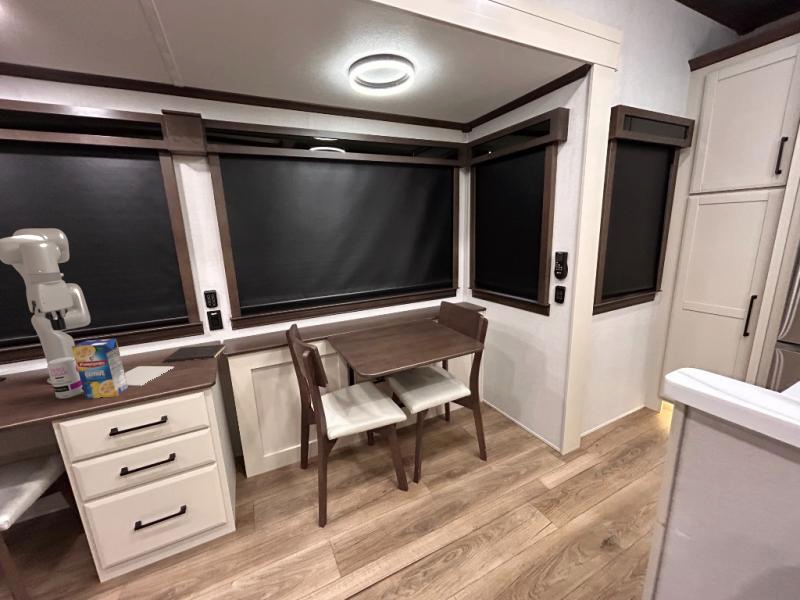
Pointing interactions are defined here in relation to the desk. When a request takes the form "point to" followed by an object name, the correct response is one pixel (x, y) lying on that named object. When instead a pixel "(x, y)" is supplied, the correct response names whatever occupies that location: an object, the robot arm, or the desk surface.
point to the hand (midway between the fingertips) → (59, 329)
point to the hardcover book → (195, 353)
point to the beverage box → (100, 368)
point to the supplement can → (65, 377)
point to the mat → (144, 374)
